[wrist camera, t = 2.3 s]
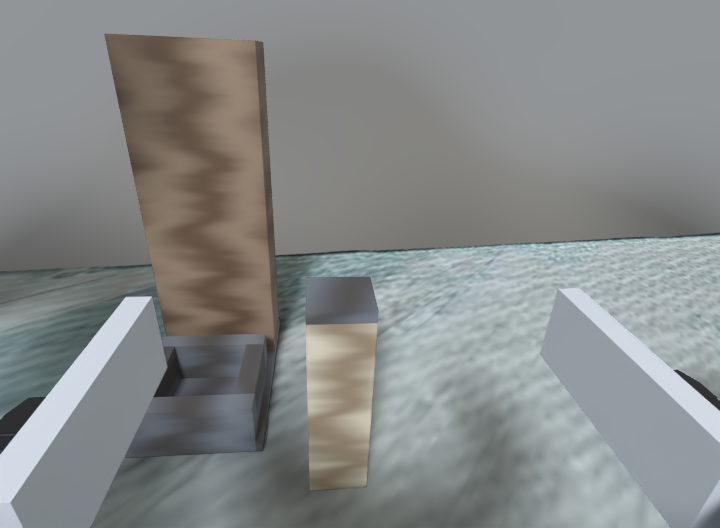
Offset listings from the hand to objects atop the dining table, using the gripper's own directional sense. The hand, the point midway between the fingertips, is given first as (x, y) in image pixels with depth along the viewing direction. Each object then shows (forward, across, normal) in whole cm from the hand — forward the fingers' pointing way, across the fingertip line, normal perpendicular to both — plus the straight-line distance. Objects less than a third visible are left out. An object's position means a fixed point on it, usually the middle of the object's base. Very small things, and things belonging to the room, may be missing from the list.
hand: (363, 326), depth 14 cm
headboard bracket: (+20, -11, -19) cm, 30 cm away
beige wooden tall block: (+10, 0, -19) cm, 22 cm away
